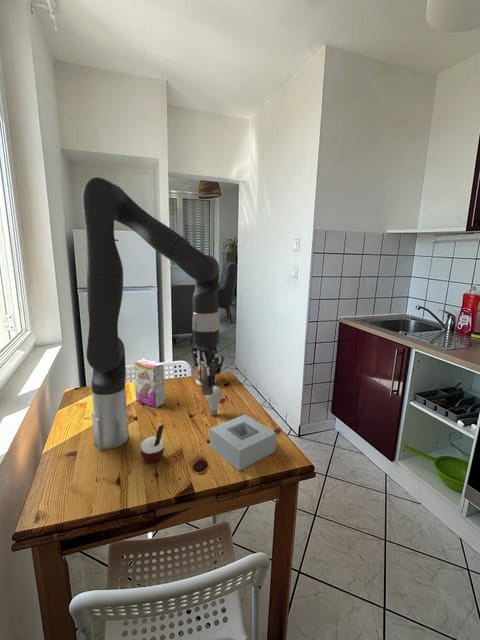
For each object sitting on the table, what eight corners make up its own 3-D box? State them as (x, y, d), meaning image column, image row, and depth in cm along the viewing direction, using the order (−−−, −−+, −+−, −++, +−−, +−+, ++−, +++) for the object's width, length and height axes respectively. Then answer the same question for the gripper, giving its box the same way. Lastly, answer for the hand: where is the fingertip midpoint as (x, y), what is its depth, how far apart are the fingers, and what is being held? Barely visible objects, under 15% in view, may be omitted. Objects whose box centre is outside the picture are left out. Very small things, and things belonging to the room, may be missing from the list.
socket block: (239, 470, 85) (239, 450, 84) (209, 446, 96) (209, 427, 94) (275, 451, 94) (276, 432, 93) (244, 430, 104) (245, 413, 103)
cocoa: (139, 454, 92) (136, 415, 90) (161, 448, 95) (158, 410, 93) (145, 472, 84) (141, 431, 81) (168, 465, 86) (165, 425, 84)
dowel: (205, 396, 91) (205, 363, 89) (199, 392, 93) (198, 360, 91) (215, 393, 93) (215, 360, 91) (208, 389, 95) (208, 357, 93)
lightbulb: (225, 413, 116) (225, 385, 114) (217, 420, 111) (217, 391, 108) (210, 409, 118) (210, 381, 116) (202, 416, 113) (202, 388, 111)
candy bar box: (135, 401, 124) (133, 361, 120) (145, 396, 128) (143, 357, 125) (155, 408, 118) (154, 367, 115) (165, 403, 122) (164, 363, 119)
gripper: (181, 325, 92) (183, 380, 95) (209, 334, 81) (210, 396, 85) (203, 321, 96) (204, 374, 100) (232, 329, 86) (232, 388, 89)
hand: (207, 384), depth 92 cm, fingers closed on dowel, 3 cm apart
